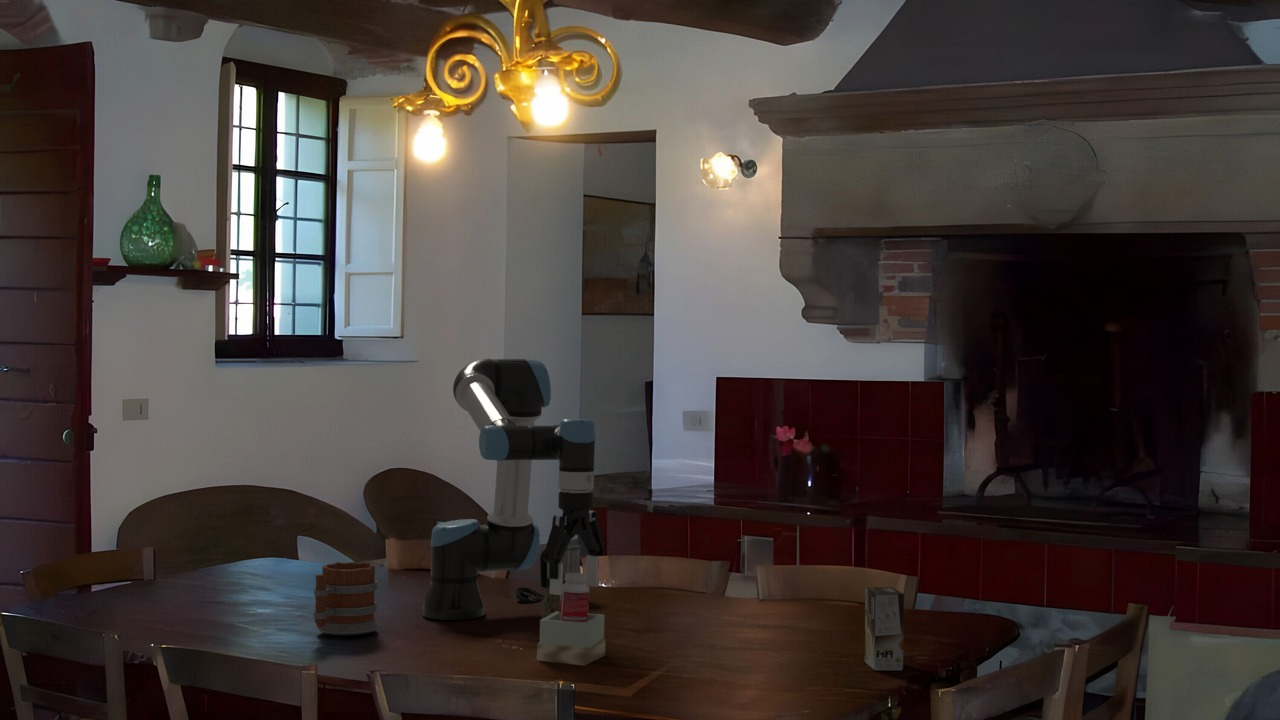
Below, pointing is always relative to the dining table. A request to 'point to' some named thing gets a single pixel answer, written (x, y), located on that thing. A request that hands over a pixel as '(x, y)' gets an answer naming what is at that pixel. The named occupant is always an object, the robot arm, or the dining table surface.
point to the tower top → (571, 631)
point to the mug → (346, 599)
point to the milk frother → (569, 566)
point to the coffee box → (884, 628)
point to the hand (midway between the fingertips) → (574, 590)
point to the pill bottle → (574, 598)
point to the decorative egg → (551, 602)
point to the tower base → (570, 653)
